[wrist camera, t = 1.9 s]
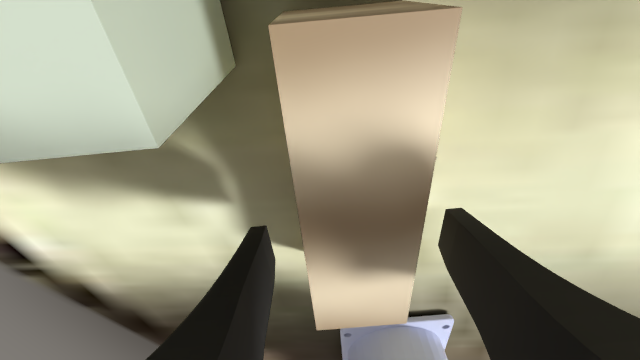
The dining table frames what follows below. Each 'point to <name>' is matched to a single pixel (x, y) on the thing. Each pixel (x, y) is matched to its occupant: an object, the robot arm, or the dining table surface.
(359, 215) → the peg
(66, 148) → the block
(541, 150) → the dining table surface
